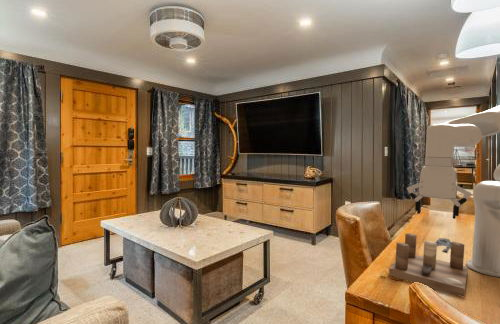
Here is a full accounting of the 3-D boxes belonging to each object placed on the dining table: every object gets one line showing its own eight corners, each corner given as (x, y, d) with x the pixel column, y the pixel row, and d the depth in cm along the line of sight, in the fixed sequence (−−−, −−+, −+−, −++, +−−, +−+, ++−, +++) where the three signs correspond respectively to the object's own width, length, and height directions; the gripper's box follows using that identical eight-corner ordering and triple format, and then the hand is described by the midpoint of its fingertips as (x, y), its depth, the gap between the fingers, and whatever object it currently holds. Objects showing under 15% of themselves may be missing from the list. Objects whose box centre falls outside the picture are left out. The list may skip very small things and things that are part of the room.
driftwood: (439, 239, 135) (439, 234, 135) (456, 242, 131) (457, 238, 130) (428, 250, 121) (428, 245, 121) (447, 254, 116) (447, 249, 116)
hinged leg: (432, 276, 88) (433, 250, 87) (418, 272, 90) (420, 247, 89) (436, 265, 95) (437, 242, 95) (423, 262, 98) (425, 240, 97)
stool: (402, 258, 109) (403, 231, 109) (467, 273, 97) (469, 243, 96) (388, 275, 94) (390, 244, 93) (464, 297, 81) (466, 261, 81)
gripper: (472, 163, 88) (469, 217, 89) (410, 161, 99) (407, 209, 100) (473, 164, 82) (469, 222, 83) (406, 162, 93) (404, 213, 94)
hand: (436, 215), depth 92 cm, fingers open, 9 cm apart
